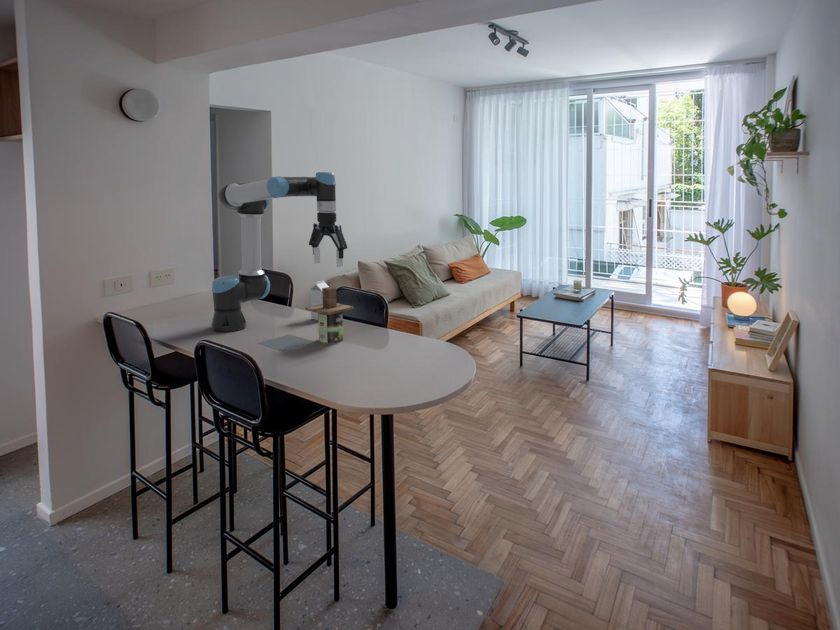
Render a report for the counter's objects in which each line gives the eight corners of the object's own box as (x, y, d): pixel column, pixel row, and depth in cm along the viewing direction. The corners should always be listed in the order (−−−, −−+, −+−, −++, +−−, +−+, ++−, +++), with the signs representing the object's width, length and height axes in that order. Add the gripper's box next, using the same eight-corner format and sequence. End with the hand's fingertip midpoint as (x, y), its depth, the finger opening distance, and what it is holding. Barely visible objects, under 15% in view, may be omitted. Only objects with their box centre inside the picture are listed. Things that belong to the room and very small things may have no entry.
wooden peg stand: (305, 309, 226) (304, 288, 224) (330, 304, 237) (330, 283, 235) (329, 315, 218) (328, 293, 216) (353, 308, 229) (353, 287, 226)
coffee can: (346, 339, 235) (345, 307, 231) (338, 346, 225) (337, 312, 222) (324, 337, 237) (322, 305, 233) (315, 344, 227) (313, 311, 224)
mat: (256, 344, 226) (256, 343, 226) (289, 335, 239) (289, 334, 239) (282, 352, 216) (282, 351, 216) (315, 342, 229) (315, 341, 229)
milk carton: (331, 318, 269) (330, 280, 265) (323, 321, 263) (322, 282, 259) (319, 316, 272) (318, 279, 268) (311, 319, 266) (309, 281, 261)
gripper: (298, 210, 223) (301, 262, 228) (341, 213, 208) (342, 269, 213) (313, 210, 228) (315, 260, 233) (355, 213, 213) (356, 266, 218)
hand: (328, 264), depth 223 cm, fingers open, 13 cm apart
